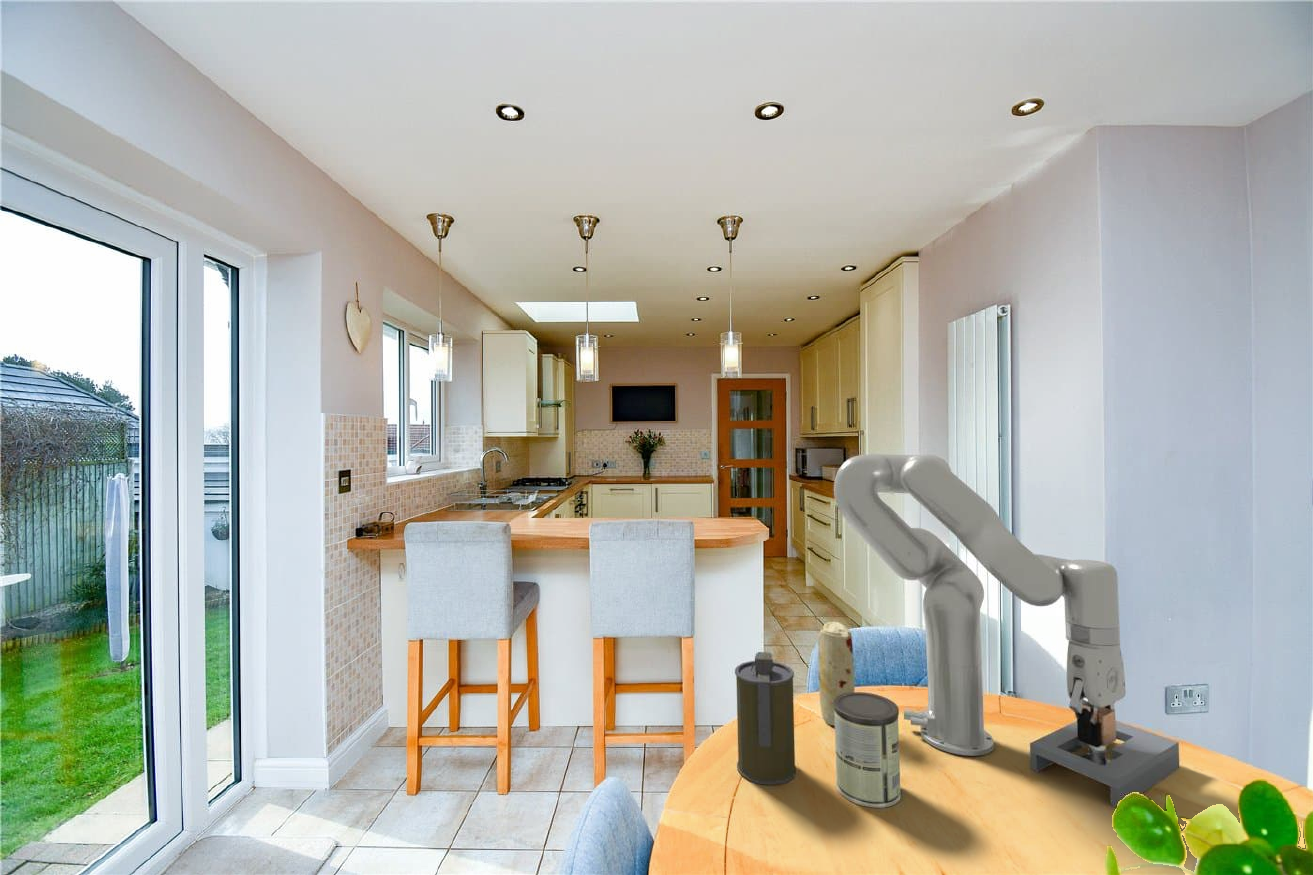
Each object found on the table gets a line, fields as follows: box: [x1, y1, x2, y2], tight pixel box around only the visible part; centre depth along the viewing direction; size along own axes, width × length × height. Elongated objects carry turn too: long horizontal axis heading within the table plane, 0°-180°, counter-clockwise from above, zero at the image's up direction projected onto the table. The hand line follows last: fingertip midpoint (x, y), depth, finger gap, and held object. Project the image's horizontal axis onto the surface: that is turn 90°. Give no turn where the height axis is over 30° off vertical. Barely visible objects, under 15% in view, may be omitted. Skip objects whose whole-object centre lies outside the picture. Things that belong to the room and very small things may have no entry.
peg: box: [1079, 705, 1117, 766], centre depth 100 cm, size 5×5×10 cm
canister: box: [734, 651, 797, 786], centre depth 103 cm, size 11×10×20 cm
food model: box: [817, 621, 855, 727], centre depth 121 cm, size 10×7×20 cm
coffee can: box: [833, 691, 902, 809], centre depth 97 cm, size 10×10×14 cm
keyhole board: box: [1029, 720, 1180, 808], centre depth 101 cm, size 22×13×4 cm, turn 119°
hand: (1096, 738), depth 100 cm, fingers closed on peg, 4 cm apart
